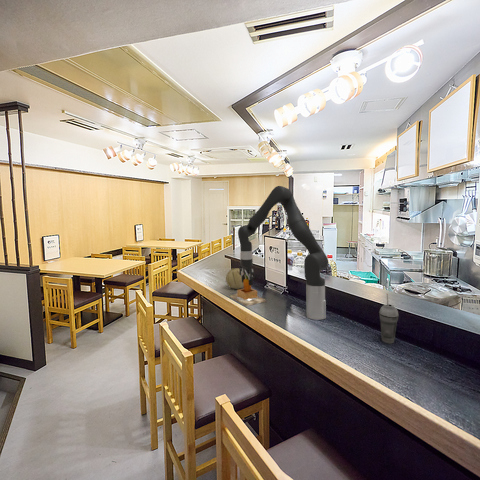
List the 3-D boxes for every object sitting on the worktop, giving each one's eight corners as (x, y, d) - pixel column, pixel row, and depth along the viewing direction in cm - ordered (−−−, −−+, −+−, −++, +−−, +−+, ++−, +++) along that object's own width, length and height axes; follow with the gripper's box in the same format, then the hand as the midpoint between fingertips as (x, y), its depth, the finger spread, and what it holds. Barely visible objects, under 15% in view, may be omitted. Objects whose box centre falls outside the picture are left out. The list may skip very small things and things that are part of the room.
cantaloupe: (250, 289, 196) (249, 268, 194) (230, 292, 190) (229, 271, 189) (242, 284, 209) (241, 265, 208) (223, 287, 204) (223, 267, 202)
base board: (248, 293, 187) (248, 291, 187) (265, 301, 170) (265, 299, 170) (230, 297, 180) (230, 295, 180) (246, 306, 163) (246, 304, 163)
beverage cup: (387, 346, 112) (389, 298, 110) (374, 338, 119) (375, 292, 117) (402, 343, 114) (403, 296, 112) (388, 335, 121) (389, 291, 119)
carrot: (251, 295, 177) (251, 272, 176) (251, 297, 172) (251, 273, 171) (243, 295, 177) (243, 272, 175) (243, 297, 172) (243, 274, 171)
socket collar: (250, 293, 184) (250, 286, 183) (261, 298, 172) (261, 291, 172) (233, 296, 177) (233, 289, 177) (243, 302, 166) (243, 294, 165)
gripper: (257, 259, 168) (258, 285, 170) (245, 255, 180) (246, 280, 182) (247, 260, 164) (247, 287, 166) (235, 257, 176) (236, 282, 178)
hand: (247, 283), depth 174 cm, fingers open, 8 cm apart
